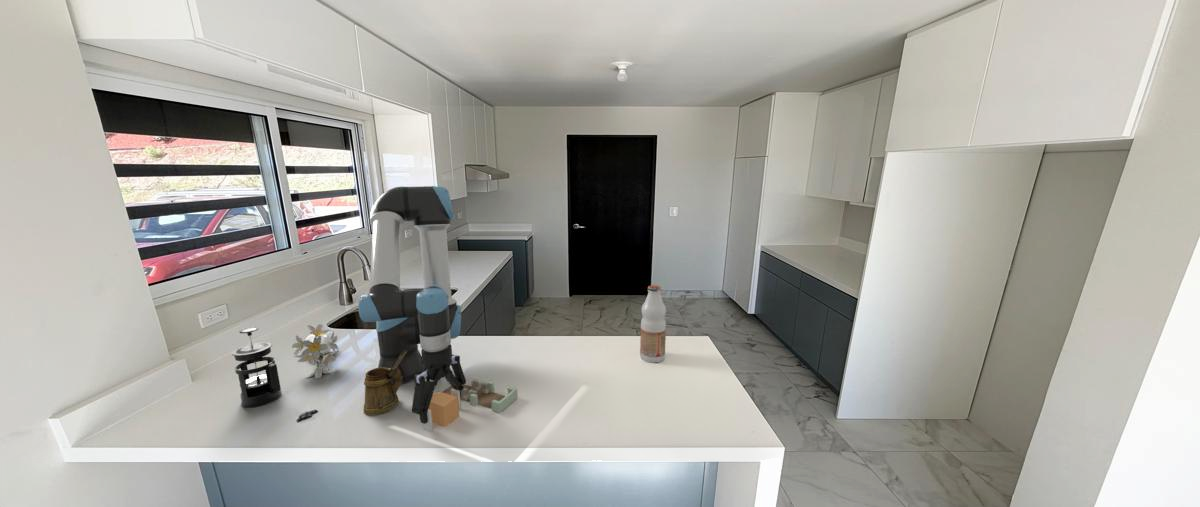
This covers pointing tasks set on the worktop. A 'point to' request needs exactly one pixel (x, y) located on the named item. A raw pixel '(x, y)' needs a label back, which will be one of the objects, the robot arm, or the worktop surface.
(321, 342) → the flower vase
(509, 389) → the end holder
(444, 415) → the plug
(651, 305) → the fruit juice
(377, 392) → the wooden mug
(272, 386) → the french press
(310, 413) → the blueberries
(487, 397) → the board
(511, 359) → the worktop surface
